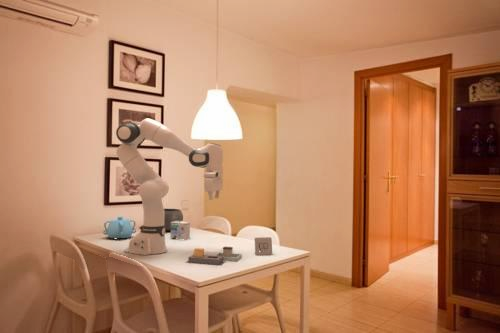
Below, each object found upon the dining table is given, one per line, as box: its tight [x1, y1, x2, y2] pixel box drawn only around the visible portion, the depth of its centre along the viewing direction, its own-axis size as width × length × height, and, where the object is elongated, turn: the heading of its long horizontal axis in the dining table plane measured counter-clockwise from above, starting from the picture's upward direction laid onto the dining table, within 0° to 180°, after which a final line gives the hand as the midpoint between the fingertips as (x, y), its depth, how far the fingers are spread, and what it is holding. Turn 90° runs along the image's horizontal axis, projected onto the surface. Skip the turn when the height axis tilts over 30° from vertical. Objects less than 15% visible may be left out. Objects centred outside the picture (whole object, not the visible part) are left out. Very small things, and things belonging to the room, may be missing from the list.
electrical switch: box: [254, 236, 273, 256], centre depth 200 cm, size 9×5×9 cm, turn 99°
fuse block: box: [184, 253, 227, 267], centre depth 177 cm, size 18×8×4 cm, turn 77°
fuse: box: [193, 247, 205, 257], centre depth 178 cm, size 4×2×6 cm, turn 77°
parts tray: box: [214, 252, 243, 263], centre depth 185 cm, size 12×9×3 cm
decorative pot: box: [102, 216, 137, 239], centre depth 237 cm, size 16×16×14 cm
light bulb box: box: [169, 220, 191, 241], centre depth 238 cm, size 11×7×11 cm, turn 69°
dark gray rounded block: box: [164, 208, 184, 232], centre depth 266 cm, size 20×20×15 cm
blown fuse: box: [222, 246, 233, 258], centre depth 185 cm, size 4×2×6 cm, turn 77°
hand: (214, 199), depth 200 cm, fingers open, 8 cm apart
